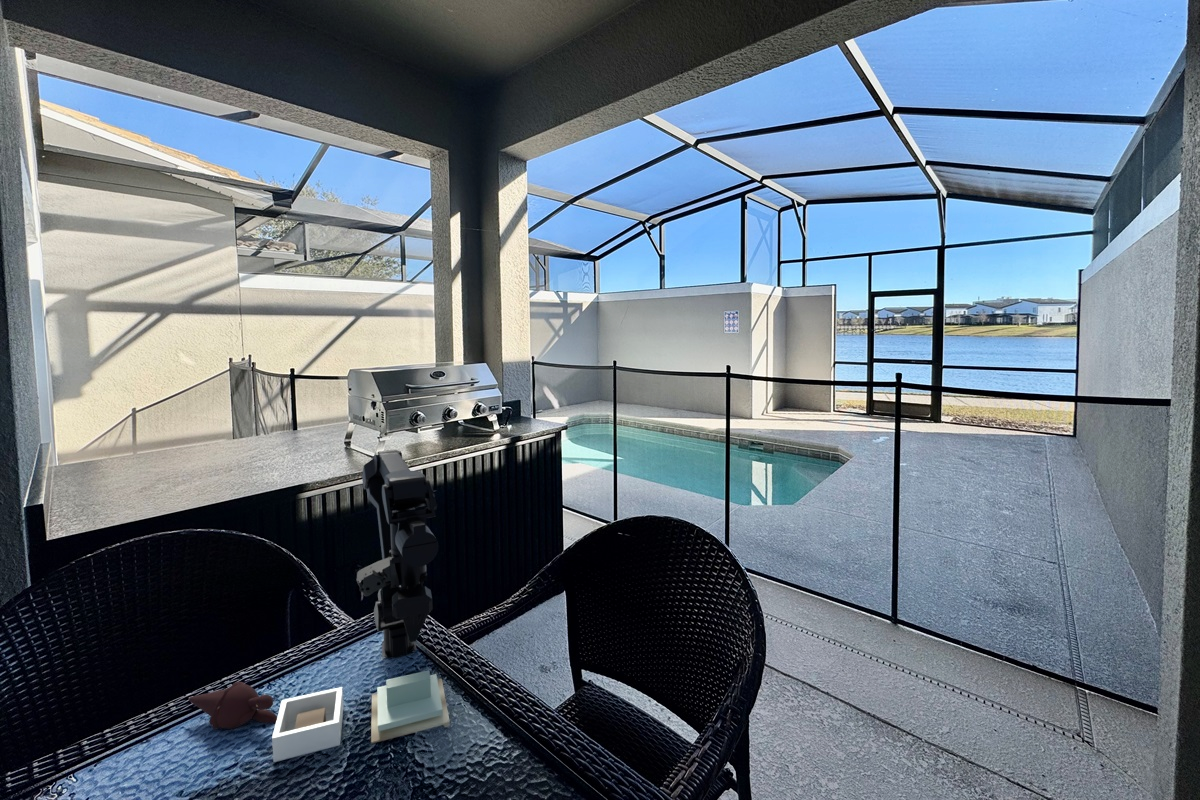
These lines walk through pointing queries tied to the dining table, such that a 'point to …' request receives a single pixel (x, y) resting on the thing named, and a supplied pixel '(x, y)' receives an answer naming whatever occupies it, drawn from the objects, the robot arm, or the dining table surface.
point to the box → (311, 737)
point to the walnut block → (310, 718)
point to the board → (411, 727)
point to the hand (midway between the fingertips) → (411, 627)
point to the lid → (408, 700)
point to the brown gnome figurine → (235, 706)
